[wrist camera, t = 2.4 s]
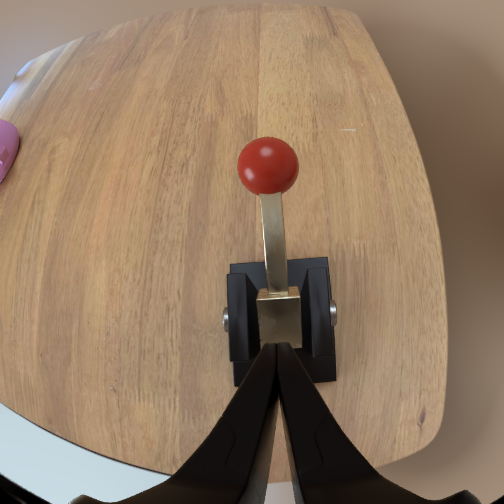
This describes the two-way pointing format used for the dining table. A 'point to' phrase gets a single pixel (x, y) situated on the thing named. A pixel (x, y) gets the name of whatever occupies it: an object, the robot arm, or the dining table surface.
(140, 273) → the dining table surface
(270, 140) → the lever
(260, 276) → the switch bracket
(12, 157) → the teapot
